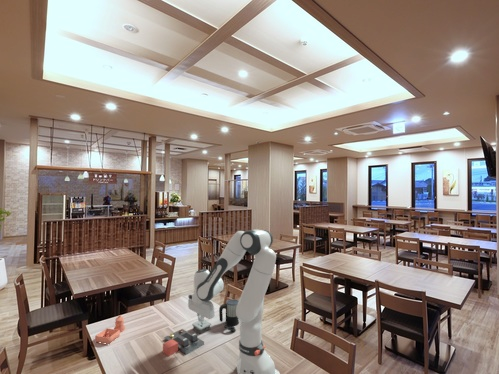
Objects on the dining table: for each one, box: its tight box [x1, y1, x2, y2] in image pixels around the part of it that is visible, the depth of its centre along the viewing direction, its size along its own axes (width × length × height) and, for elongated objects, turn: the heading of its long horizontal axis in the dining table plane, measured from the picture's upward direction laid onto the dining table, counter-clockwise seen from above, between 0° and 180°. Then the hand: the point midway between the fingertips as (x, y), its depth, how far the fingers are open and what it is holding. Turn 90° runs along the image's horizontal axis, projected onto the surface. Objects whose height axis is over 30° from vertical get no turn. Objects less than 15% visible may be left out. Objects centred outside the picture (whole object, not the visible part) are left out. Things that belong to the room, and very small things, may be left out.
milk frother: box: [218, 298, 240, 332], centre depth 173 cm, size 14×16×15 cm
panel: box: [163, 328, 205, 355], centre depth 155 cm, size 22×13×2 cm, turn 50°
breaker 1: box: [181, 337, 189, 347], centre depth 149 cm, size 3×3×3 cm
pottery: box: [94, 314, 126, 345], centre depth 161 cm, size 18×10×10 cm, turn 167°
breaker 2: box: [190, 332, 198, 342], centre depth 154 cm, size 3×3×3 cm
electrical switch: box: [191, 319, 212, 335], centre depth 169 cm, size 9×5×9 cm
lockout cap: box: [162, 339, 179, 357], centre depth 145 cm, size 6×6×5 cm
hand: (200, 321), depth 150 cm, fingers closed
